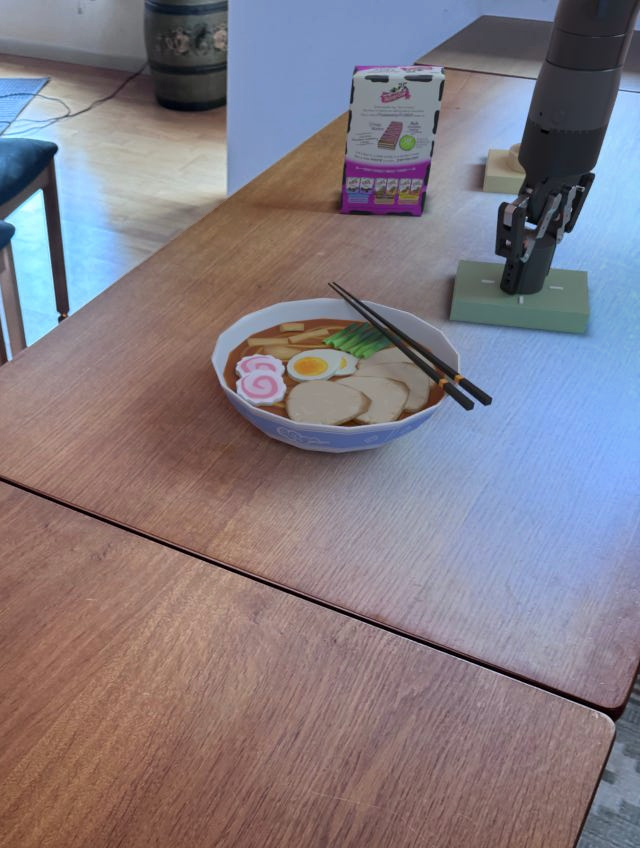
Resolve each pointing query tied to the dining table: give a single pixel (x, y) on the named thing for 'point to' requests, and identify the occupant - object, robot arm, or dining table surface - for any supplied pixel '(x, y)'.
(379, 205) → the candy bar box
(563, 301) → the panel
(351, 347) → the ramen bowl
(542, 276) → the knob
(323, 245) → the dining table surface
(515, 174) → the housing
